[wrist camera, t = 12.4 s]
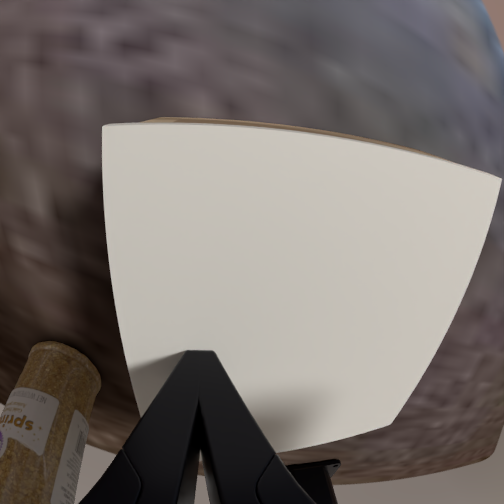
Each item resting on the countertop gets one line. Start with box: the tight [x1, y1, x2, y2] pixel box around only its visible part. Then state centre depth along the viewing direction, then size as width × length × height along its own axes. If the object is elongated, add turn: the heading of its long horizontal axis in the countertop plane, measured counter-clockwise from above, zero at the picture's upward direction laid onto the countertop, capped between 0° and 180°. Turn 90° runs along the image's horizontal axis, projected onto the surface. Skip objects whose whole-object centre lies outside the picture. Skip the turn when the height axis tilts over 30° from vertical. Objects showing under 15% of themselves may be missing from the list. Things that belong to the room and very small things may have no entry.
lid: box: [102, 123, 502, 461], centre depth 8 cm, size 11×10×1 cm
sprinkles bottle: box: [0, 341, 101, 504], centre depth 8 cm, size 5×5×13 cm
